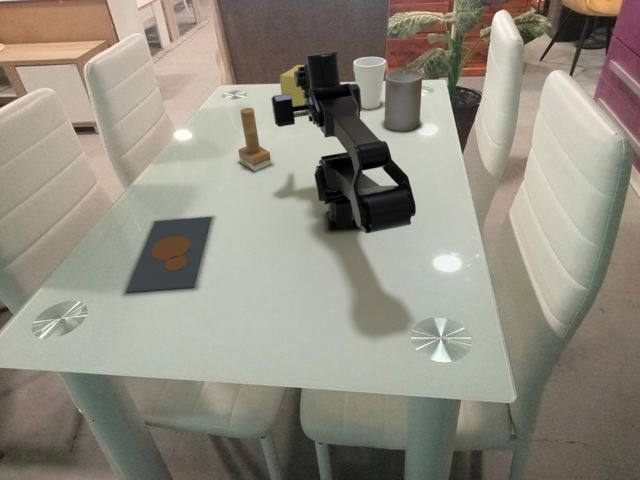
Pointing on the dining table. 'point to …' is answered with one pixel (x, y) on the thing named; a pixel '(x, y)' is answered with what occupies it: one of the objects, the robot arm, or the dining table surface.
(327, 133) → the robot arm
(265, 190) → the dining table surface
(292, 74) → the cheese
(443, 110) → the dining table surface
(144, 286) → the stain mat
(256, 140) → the scrub brush
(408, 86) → the pillar candle
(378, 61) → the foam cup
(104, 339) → the dining table surface
